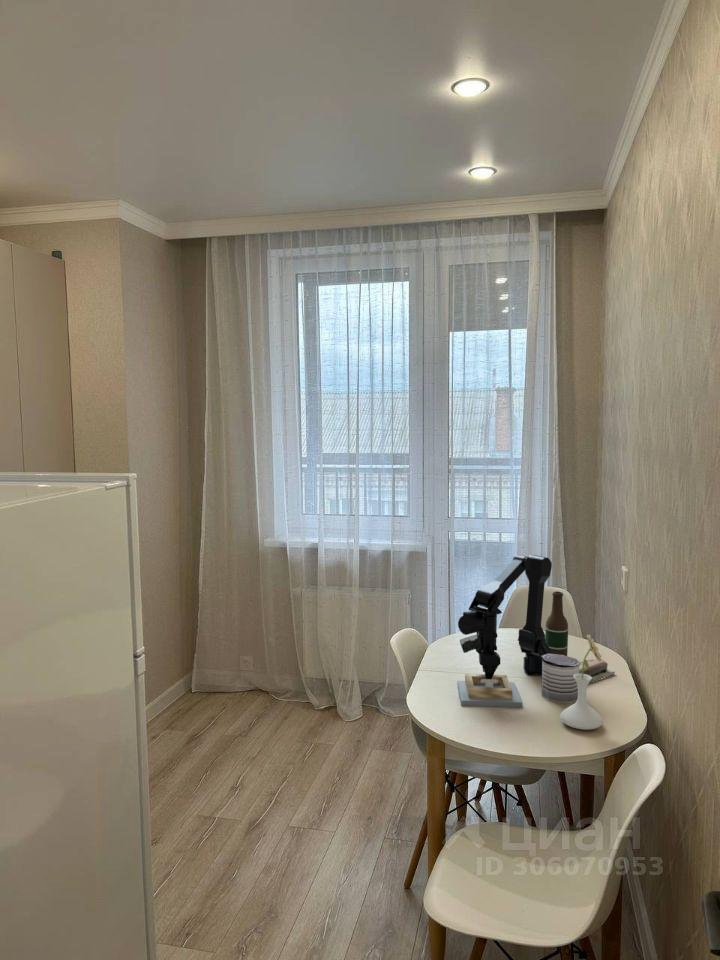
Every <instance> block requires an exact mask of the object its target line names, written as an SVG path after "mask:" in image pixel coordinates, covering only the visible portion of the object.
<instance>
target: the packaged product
mask: <svg viewBox="0 0 720 960" xmlns="http://www.w3.org/2000/svg"><path fill="white" fill-rule="evenodd" d="M579 662H580V663H581V664H579V670H580V669H582V668H583V661H579ZM587 662H588V665H589V668H588V669H587V668H586V667H585V665H584V668H586V669H587V670H585V671H584V672H583V674H587V675H590V676H591V677H592V679H591V680H590V682H592V683H594V682H593V681H595V682H597V681H596V680H599V679H601V678H604V677H607V676H610V675H613V674H614V675H615V673H616V671H614V670H612V669H608V665H609V664H608V662H607V661H605V660H603V659H602V661H598V660H597V659H596V658H591V659H587ZM579 674H582V671H579ZM614 675H613V676H614ZM610 677H611V676H610ZM607 678H608V677H607ZM599 681H600V680H599ZM590 682H589V684H591V683H590Z"/></svg>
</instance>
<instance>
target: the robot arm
mask: <svg viewBox="0 0 720 960" xmlns="http://www.w3.org/2000/svg"><path fill="white" fill-rule="evenodd" d="M552 566H553V563H552V561H551V560H550V558H549V557H545V556H540V555H535V554H529V556H525V555H520V554H517V555H515V556H513V557H512V561H510V563H509V564H508V565H507V566H506V567H505V568H504V569H503V570H502V571H501V572H500V573H499V575H497V577H496V578H495V579H494V580H493V581H491V582H489V583H486V584H484V585H482V586H481V587H480V588H479V589H478V590H477V591H476V592H475V596H474V597H473V599H472V602H471V604H470V605H469V607H468V611H464V612H462V616H460V617H459V619H458V621H457V627H458V629H459V631H460V632H461V634H462V635H465V636H466V635H470V636H466V637H463V638H461V639H459V643H460V646H461V650H462V652H463V653H464V654H466V653H468V652H472V651H473V650H475V652H476V653H478V662H479V664H480V666H481V667H482V671H483V673H484V675H485V678H486V679H492V677H493V675H495V673H496V670H497V669H498V667H499V666H500V665H501V656H500V654H499V653H498V652H497V651H498V646H497V639H498V632H497V631H498V630H497V629H498V628H497V627H498V619H497V618H498V615H500V614H502V613H503V612H502V610H501V609H499V607H500V605H501V604H502V603H503V601H504V599H505V595H506V592H507V591H508V589H509V588H511V586H512V585H513V584H514V583H515V582H516V581H517V580H518V579H519V578H520V576H521V575H522V574H523V573H524V572H525V575H526V578H527V579H528V594H527V604H526V605H527V606H526V616H525V617H526V618H525V625H524V626H523V627H522V628H519V629H518V638H517V641H518V646H519V648H520V652H521V653H525V654H524V656H523V666H522V667H523V670H524V672H525V674H526V675H528V676H542V666H543V658H542V655H546V654H551V649H550V648H549V647H548V645H547V644H546V643H545V631H544V630H543V627H542V621H543V620H542V618H543V607H544V606H543V604H544V594H545V593H544V592H545V583H546V582H547V580H548V579H549V578H550V577H551V573H552ZM475 633H476V634H475ZM472 634H474V635H472Z"/></svg>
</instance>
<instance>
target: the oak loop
mask: <svg viewBox="0 0 720 960" xmlns="http://www.w3.org/2000/svg"><path fill="white" fill-rule="evenodd" d="M464 677H465V679H464V681H465V683H466V687H467V692H468V697H478V698H509V699H512V688H511V686H510V683H509V682H510V681H509V677H508V675H507V674H494V675H493V677H492V679H496V680H498V683H496V684H501V685H502V688H478V687H474V684H485V683H481V679H486V678H485V673H484V674H482V673H481V674H480V673H479V674H478V673H465V675H464ZM493 684H494V683H493Z"/></svg>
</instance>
